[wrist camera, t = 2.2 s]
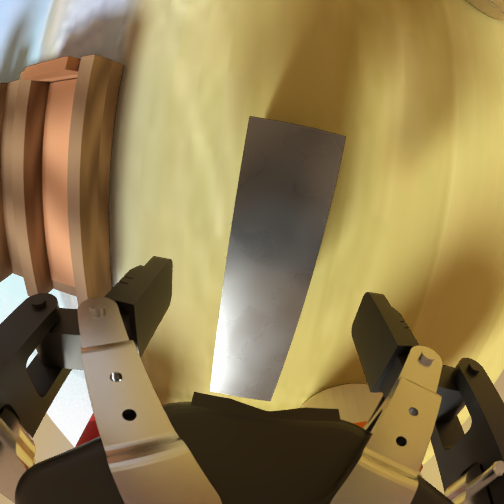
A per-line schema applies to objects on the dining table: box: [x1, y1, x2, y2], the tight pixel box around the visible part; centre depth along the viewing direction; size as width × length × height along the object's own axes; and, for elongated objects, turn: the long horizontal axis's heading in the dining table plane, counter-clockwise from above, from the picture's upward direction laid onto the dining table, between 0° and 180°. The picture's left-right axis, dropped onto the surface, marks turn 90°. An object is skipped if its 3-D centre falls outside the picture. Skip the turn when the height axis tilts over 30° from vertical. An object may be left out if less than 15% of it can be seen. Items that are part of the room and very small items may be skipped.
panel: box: [210, 116, 346, 401], centre depth 14 cm, size 12×3×8 cm, turn 171°
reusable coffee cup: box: [301, 383, 423, 477], centre depth 17 cm, size 12×13×15 cm
